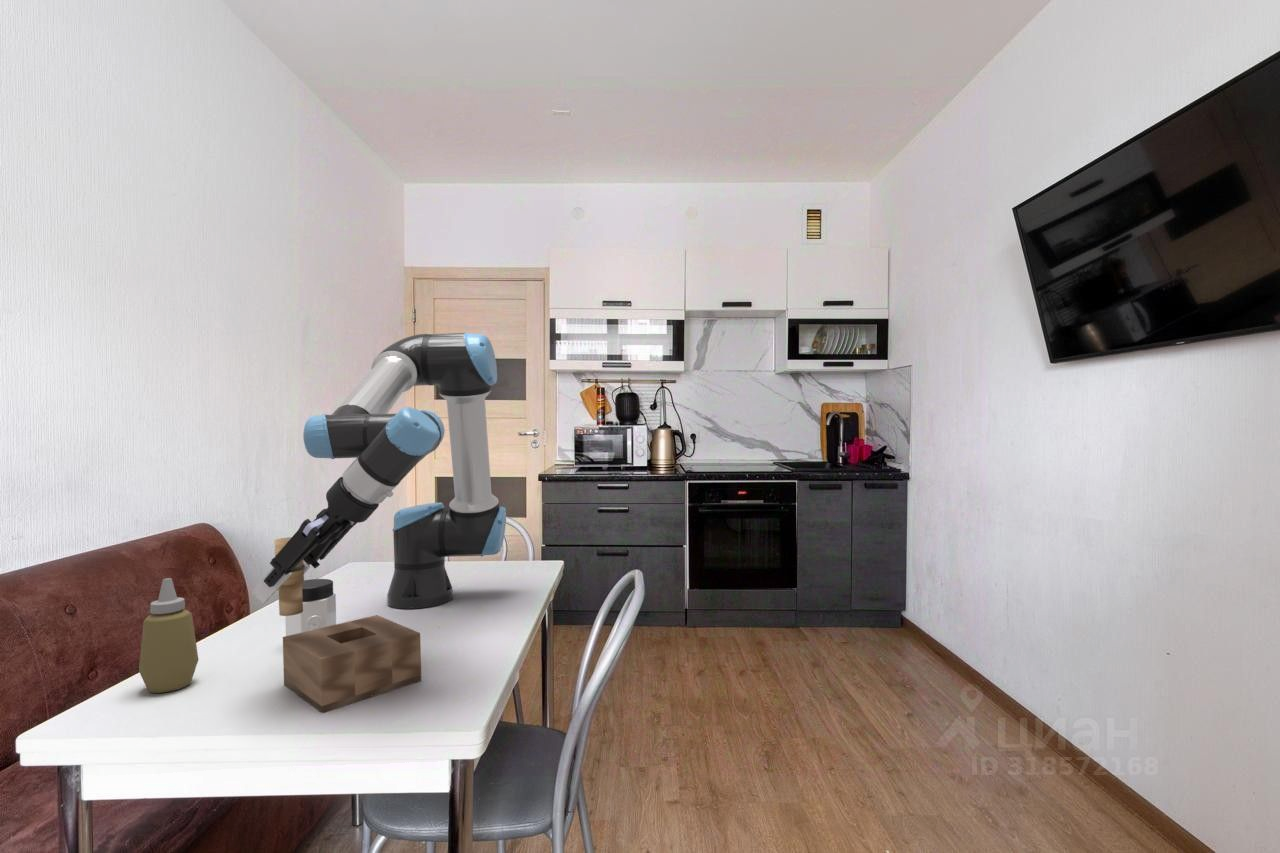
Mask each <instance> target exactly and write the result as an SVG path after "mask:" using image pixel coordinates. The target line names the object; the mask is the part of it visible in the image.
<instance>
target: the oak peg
mask: <svg viewBox="0 0 1280 853" xmlns="http://www.w3.org/2000/svg"><path fill="white" fill-rule="evenodd" d="M292 537H293V536H292ZM292 537H283V538H282V537H281V538H277V539H274V557H275V556H276V555H277V554H278V553H279V552H280V550H281V549H282V548H283V547H284V546H285V545H286V543H287V542H288V541H289V540H290V539H291V538H292ZM291 573H292V574H291V575H290V576H289V578H288V579H287V580H286V581H285V582H284V583H283V584H282V585H281V586H280V588H279V589H278V590H279V591H278V590H277V591H278V608H279V609H278V611H279V612H278V613H279V614H278V615H279V616H281V617H285V616H291V615H296V614H300V613H302V612H303V596H302V582H303V581H304V580H305V574H304V564H303V560H302V561H301V562H300V563H299V564H298V565H297V566H296V567H295V568H294V569H293V570H292V571H291Z"/></svg>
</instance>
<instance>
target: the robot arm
mask: <svg viewBox="0 0 1280 853" xmlns="http://www.w3.org/2000/svg"><path fill="white" fill-rule="evenodd" d="M370 369H371V370H370V371H369V372H368V374H367V375H366V376H365V377H364V378H363V379H362V380H361V381H360V383H358V384H357V385H356V387H355V388H354V389H353V390H352V391H351V392H350V393H349V395H347V397H346V398H345V399H344V400H343V401H342V403H341V404H340V405H339V406H338V407H337V408H336V409H335V410H334V411H333V413H331V414H326V413H323V414H319V415H318V414H317V415H312V416H310V417H309V418H308V419H307V420H306V422H305V424H304V427H303V432H302V433H303V434H302V435H303V436H302V437H303V443H304V448H305V450H306V452H307V454H308V455H309V456H310V457H312V458H315V459H331V460H335V459H354V458H355V459H354V460H353V461H352V463H351V464H350V465H349V466H348V467H347V468H346V469H345V470H344V472H343V473H342V476H340V477H339V478H338V479H337V480H336V481H335V482H334V484H332V486H331V487H330V488H329V489H328V490H327V491H326V494H325V496H326V497H325V498H326V502H327V507H326V508H323V509H322V510H321V511H320V512H318V514H317V515H316V516H315V517H316V518H314V520H312V521H311V520H310V519H309V518H306V519H305V520H303V522H302V523H301V525H300V526H299V528H298V529H297V531H296V532H295V533H294V534H293V535H292V538H291V539H290V540H289V541H288V542H287V543H286V545H285V546H284V547H283V548H282V549H281V550H280V552H279V553H278V554H277V555H276V556H275V555H274V557H273V558H272V559H271V560H270V562H269V564H270V566H272V568H271V569H270V571H268V572H267V573H266V575H265V576H264V577H263V578H262V579H261V581H260V582H259V583H257V585H256V586H255V587H254V588H253V589H252V591H251V593H252V594H253V595H254V596H255V597H256V598H257V600H259V602H261V604H266V603H268V601H269V600H270V599H271V598H272V597H273V595H274V594H276V592H277V591H278V592H279V590H278V589H279V588H280V586H281V585H282V584H283V583H284V582H285V581H286V580H287V579H288V578H289V576H290V575H291V574H292V573H291V571H292V570H293V569H294V568H295V567H296V566H297V565H298V564H299V563H300V562H301V561H302V560H303V564H304V575H305V574H306V573H307V572H308V570H309V569H310V568H311V567H312V568H314V569H316V568H318V567H319V566H320V565H321V564H320V563H319V562H318V561H319V560H320V561H322V560H324V559H325V558H326V557H327V556H328V555H329V554H330V552H331V551H332V550H333V549H334V548H335V547H336V546H337V545H338V544H339V543H340V542H341V540H343V538H344V537H345V536H346V534H348V533H349V532H350V530H351V529H352V528H354V527H355V526H356V525H357V524H360V523H363V522H366V521H368V519H369V518H370V516H372V515H373V513H374V512H375V511H376V510H377V509H378V507H379V506H380V504H382V503H383V501H385V499H387V497H388V498H391V497H393V496H394V492H393V490H394V489H395V488H396V487H397V486H398V485H400V483H401V481H402V480H403V479H404V478H405V477H406V476H408V474H409V473H411V471H412V470H413V469H414V468H415V466H416V465H418V464H419V463H420V462H421V461H422V460H424V458H426V456H427V455H429V454H431V453H432V452H434V451H435V450H437V449H438V447H439V446H440V444H441V443H442V441H443V440H444V437H445V425H444V423H443V421H442V419H441V418H440V417H439V416H438V415H437V414H436V413H434V412H433V411H430V410H427V409H425V410H424V409H420V410H419V409H417V408H413V407H411V406H405V407H402V408H401V409H400V410H399V411H398V412H397V413H389V412H390V411H391V409H392V408H393V406H394V405H395V403H397V401H398V399H399V398H400V397H401V395H402V394H403V393H405V392H407V391H410V390H411V388H413V387H418V386H419V387H420V386H437V387H438V394H439V396H440V397H441V398H443V399H444V400H445V401H446V408H447V420H448V421H447V422H448V432H449V444H450V456H451V465H452V478H453V488H454V490H453V491H454V498H453V499H452V500H451V501H450V502H449V504H448V505H449V506H448V508H445V505H444V503H443V502H440V501H439V502H431V503H429V502H428V503H423V504H418V505H413V506H409V507H405V508H401V509H399V510H397V511H396V512H395V513H394V516H393V528H392V533H393V535H392V536H393V560H394V562H393V564H394V567H393V568H394V570H393V575H392V579H391V582H390V585H389V587H388V591H387V595H386V597H387V598H386V600H387V602H386V603H387V606H389V607H390V608H391V607H392V608H394V609H408V610H410V609H422V608H430V607H434V606H438V605H442V604H445V603H447V602H450V601H451V600H452V599H453V598H454V597H453V596H454V592H453V590H454V589H453V585H452V583H451V580H450V577H449V575H448V572H447V569H446V566H445V565H446V564H445V561H446V560H445V557H446V558H447V557H448V558H449V557H484V556H495V555H497V554H498V553H500V552H501V550H502V548H503V544H504V539H505V534H506V526H507V524H506V523H507V509H506V507H504V506H502V505H501V506H500V504H499V498H498V497H497V496H495V495H494V494H493V493H492V481H491V479H492V478H491V467H490V452H489V440H488V424H487V423H488V422H487V410H486V397H487V396H489V394H490V393H491V392H492V388H491V387H492V386H493V385H495V384H496V383H497V382H498V366H497V360H496V355H495V351H494V348H493V345H492V342H491V340H490V339H489V337H487V336H486V335H485V334H482V333H471V332H458V333H456V332H455V333H432V334H431V333H430V334H429V333H418V334H414V335H410V336H407V337H405V338H402V339H399V340H398V341H396V342H393V343H392V344H391V345H389V346H386V348H384V349H383V350H382V351H381V352H380V353H379V354H378V355H377V356H375V358H374V359H373V362H372V363H371V367H370Z"/></svg>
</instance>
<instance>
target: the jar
mask: <svg viewBox="0 0 1280 853" xmlns="http://www.w3.org/2000/svg"><path fill="white" fill-rule="evenodd" d="M302 596H303V612H302V613H300V614H296V615H291V616H284V618H285V620H284V621H285V636H289V635H293V634H298V633H302V632H306V631H311V630H315V629H319V628H323V627H328V626H332V625H336V624H337V602H336V601H337V600H336V599H337V598H336V597H337V596H336V593H335V592H334V581H333V580H332V579H329V578H315V579H314V578H313V579H304V581H303V582H302Z"/></svg>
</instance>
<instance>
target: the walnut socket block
mask: <svg viewBox="0 0 1280 853" xmlns="http://www.w3.org/2000/svg"><path fill="white" fill-rule="evenodd" d="M421 645H422V644H421V632H419V631H416V630H414V629H412V628H409V627H407V626H405V625H402V624H399V623H397V622H395V621H393V620H390V619H387V618H385V617H383V616H380V615H378V614H375V615H372V616H368V617H367V616H366V617H363V618H359V619H354V620H349V621H346V622H341V623H336V625H332V626H328V627H323V628H319V629H315V630H311V631H306V632H302V633H298V634H293V635H289V636H286V635H285V636H282V651H283V652H282V655H283V660H282V662H283V686H284V687H286V688H287V689H288V690H290V691H291V690H292V691H291V692H293V693H294V692H295V693H294V694H296V695H297V696H298V695H299V697H300V698H301V699H302V698H303V700H304V701H305V702H306V701H307V703H308V704H309V703H310V706H312V707H313V706H314V707H313V708H315V709H316V710H317V709H318V710H317V711H319V712H320V713H321V712H323V713H327V712H329V711H332V710H335V709H338V708H341V707H344V706H347V705H350V704H353V703H356V702H360V701H363V700H367V699H369V698H372V697H376V696H379V695H382V694H386V693H388V692H390V691H394V690H398V689H400V688H403V687H407V686H411V685H412V684H416V683H418V682H422V656H421V654H422V652H421V650H422V648H421Z"/></svg>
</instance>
